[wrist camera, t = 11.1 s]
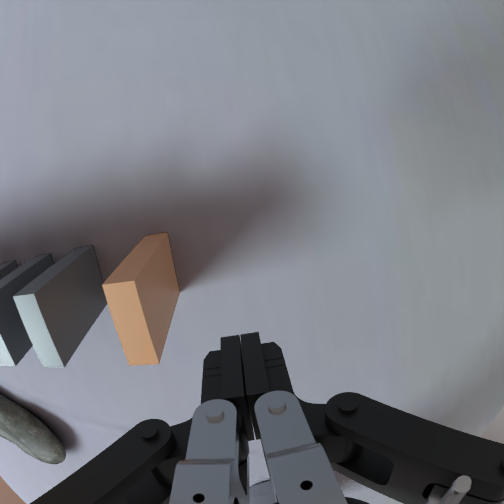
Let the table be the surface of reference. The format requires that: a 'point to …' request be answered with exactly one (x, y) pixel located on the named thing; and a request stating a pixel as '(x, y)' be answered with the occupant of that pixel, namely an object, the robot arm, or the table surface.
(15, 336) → the domino
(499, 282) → the table surface
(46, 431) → the stone
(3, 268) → the domino
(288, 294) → the table surface
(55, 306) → the domino
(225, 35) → the table surface
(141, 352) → the domino
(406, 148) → the table surface
